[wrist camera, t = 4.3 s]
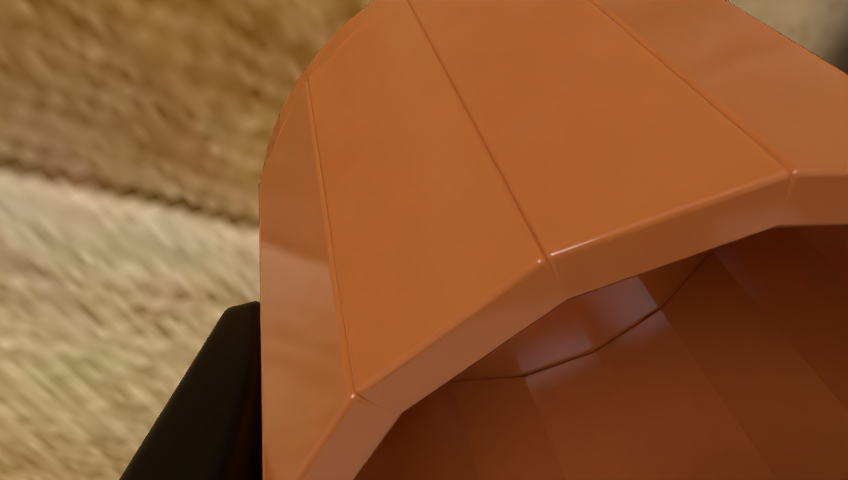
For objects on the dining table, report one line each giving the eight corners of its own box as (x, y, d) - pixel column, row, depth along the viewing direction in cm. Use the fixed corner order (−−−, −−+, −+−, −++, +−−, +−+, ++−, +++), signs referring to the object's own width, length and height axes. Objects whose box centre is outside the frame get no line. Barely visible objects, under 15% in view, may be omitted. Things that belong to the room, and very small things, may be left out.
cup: (812, 196, 11) (1127, 467, 7) (463, 426, 13) (557, 745, 9) (608, -217, 7) (1080, -124, 3) (140, 205, 9) (48, 610, 5)
